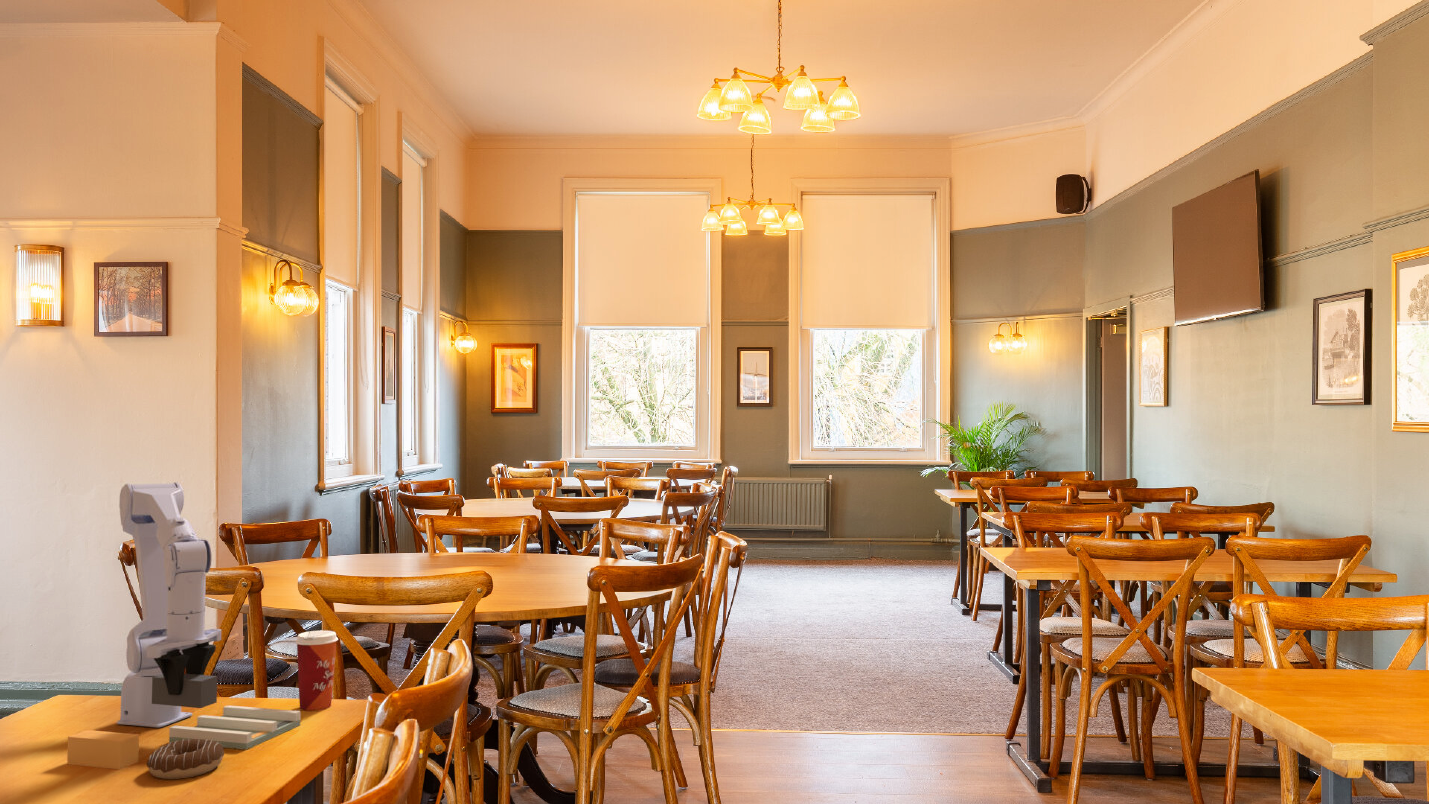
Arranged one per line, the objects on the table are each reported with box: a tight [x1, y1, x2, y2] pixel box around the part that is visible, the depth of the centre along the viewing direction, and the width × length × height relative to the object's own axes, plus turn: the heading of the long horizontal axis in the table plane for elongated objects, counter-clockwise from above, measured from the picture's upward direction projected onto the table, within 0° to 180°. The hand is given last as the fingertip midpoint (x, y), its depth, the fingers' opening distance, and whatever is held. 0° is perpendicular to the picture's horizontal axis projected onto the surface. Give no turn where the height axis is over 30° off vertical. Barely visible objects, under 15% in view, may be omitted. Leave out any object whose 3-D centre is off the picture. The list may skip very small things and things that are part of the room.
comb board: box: [168, 704, 301, 750], centre depth 171 cm, size 15×14×2 cm
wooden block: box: [66, 729, 140, 770], centre depth 156 cm, size 10×4×4 cm, turn 77°
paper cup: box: [294, 629, 339, 712], centre depth 188 cm, size 8×8×14 cm
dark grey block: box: [152, 672, 218, 709], centre depth 167 cm, size 10×4×4 cm, turn 76°
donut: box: [146, 739, 225, 780], centre depth 153 cm, size 11×11×4 cm
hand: (184, 691), depth 167 cm, fingers closed on dark grey block, 4 cm apart
